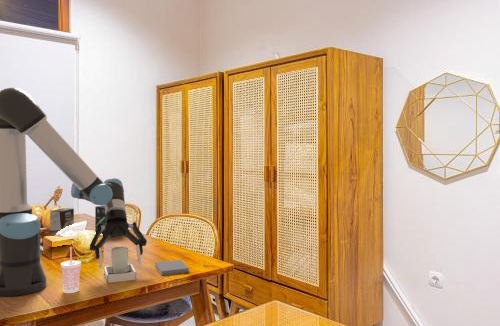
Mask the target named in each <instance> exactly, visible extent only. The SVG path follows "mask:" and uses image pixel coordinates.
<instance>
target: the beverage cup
mask: <svg viewBox="0 0 500 326" xmlns="http://www.w3.org/2000/svg"><path fill="white" fill-rule="evenodd" d="M69 249H70V251H69V253H70V254H69V255H70V257H69V260H65V261H63V262H61V263H60V267H61V276H62V289H63V293H64V294H73V293H76V292H78V291H80V278H81V277H80V274H81V266H82V261H81V260H78V259H77V260H75V259H73V258H72V257H73V255H72V254H73V247H72V246H70V247H69Z"/></svg>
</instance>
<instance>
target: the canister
mask: <svg viewBox="0 0 500 326" xmlns="http://www.w3.org/2000/svg"><path fill="white" fill-rule="evenodd" d="M128 264H129V247H128V246H114V247H112V248H111V266H112V273H111V275H113V274H122V273H129V271H128Z"/></svg>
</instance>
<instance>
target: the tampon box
mask: <svg viewBox="0 0 500 326" xmlns="http://www.w3.org/2000/svg"><path fill="white" fill-rule="evenodd" d="M94 208H95V209H94V210H95V211H94V213H95V215H94V217H95V219H94V221H95V222H94V223H95V227H94V229H95V230H94V232H97V228H98V224H101V226H105V225H106V214H105V205H96V206H95V207H94ZM101 233H102V234H103V235H105V234H106V233H107V231H106V230H105V229H104V230H103V231H102V232H101ZM111 237H113V236H111ZM111 237H110V238H111Z"/></svg>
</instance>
